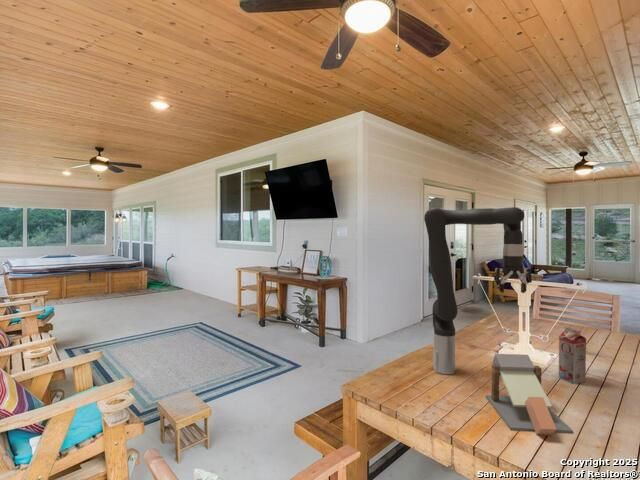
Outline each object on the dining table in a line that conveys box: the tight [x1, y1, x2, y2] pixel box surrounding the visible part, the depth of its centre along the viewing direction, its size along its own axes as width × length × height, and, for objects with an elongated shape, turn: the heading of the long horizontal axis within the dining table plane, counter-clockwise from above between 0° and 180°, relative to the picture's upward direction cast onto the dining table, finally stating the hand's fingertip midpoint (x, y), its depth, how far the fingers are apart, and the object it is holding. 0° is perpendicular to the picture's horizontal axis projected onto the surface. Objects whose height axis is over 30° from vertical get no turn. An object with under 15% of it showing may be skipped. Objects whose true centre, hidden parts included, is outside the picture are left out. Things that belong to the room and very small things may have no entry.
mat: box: [484, 394, 574, 434], centre depth 122 cm, size 19×22×1 cm
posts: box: [490, 363, 543, 402], centre depth 129 cm, size 17×2×14 cm, turn 84°
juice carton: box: [558, 326, 587, 384], centre depth 148 cm, size 7×7×22 cm
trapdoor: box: [492, 353, 553, 409], centre depth 125 cm, size 20×12×5 cm, turn 174°
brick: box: [525, 397, 557, 436], centre depth 112 cm, size 4×4×10 cm
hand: (512, 292), depth 147 cm, fingers open, 8 cm apart
